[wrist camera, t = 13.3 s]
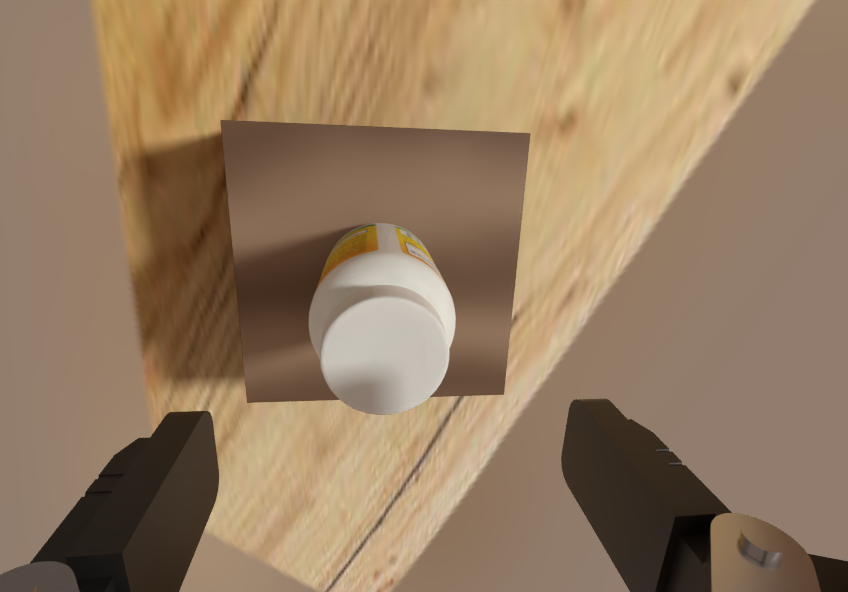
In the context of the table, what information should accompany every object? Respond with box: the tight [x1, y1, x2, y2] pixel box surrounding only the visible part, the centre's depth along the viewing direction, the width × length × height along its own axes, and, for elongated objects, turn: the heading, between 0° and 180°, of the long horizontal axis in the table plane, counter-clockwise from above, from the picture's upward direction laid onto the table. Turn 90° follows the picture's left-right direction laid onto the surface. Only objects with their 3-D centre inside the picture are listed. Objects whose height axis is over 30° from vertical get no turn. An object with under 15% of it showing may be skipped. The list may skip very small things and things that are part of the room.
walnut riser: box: [221, 120, 530, 403], centre depth 26 cm, size 14×14×6 cm
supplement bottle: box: [309, 223, 456, 415], centre depth 19 cm, size 5×5×10 cm
